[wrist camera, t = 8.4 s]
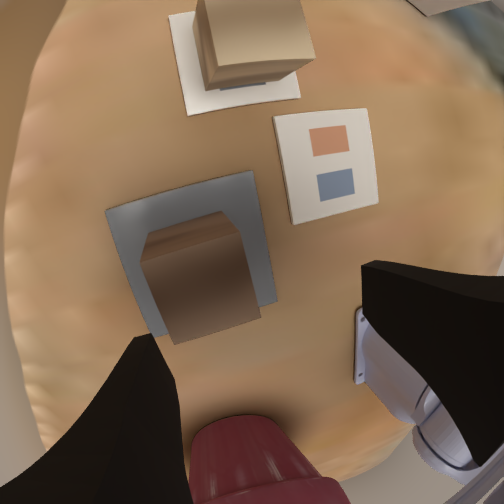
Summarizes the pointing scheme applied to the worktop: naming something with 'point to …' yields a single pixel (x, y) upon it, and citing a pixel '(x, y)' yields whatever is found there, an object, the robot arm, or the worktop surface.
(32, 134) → the worktop surface
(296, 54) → the oak block
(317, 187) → the code tile
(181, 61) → the code tile
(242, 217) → the slate coaster
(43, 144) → the worktop surface
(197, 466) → the plant pot
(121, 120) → the worktop surface
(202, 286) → the walnut block
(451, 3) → the milk carton
